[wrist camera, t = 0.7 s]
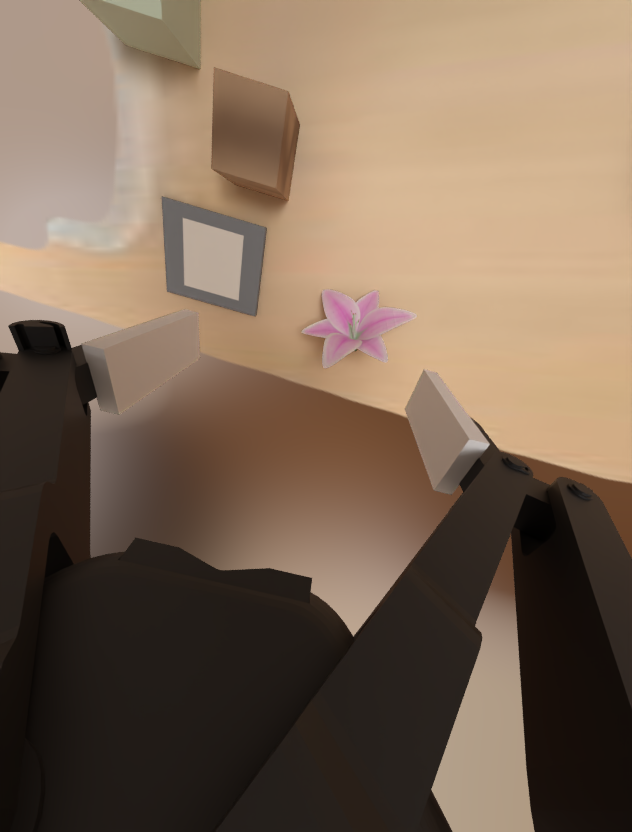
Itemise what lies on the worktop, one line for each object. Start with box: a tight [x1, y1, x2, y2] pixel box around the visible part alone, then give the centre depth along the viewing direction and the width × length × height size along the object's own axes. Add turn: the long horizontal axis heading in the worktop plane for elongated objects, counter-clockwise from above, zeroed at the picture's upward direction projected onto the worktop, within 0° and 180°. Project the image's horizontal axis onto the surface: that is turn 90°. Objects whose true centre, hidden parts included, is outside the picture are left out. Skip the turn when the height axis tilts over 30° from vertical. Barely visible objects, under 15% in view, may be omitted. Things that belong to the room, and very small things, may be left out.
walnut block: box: [211, 67, 300, 201], centre depth 24 cm, size 6×6×6 cm
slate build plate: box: [162, 197, 267, 316], centre depth 32 cm, size 10×12×1 cm
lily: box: [301, 289, 417, 368], centre depth 32 cm, size 12×12×10 cm
